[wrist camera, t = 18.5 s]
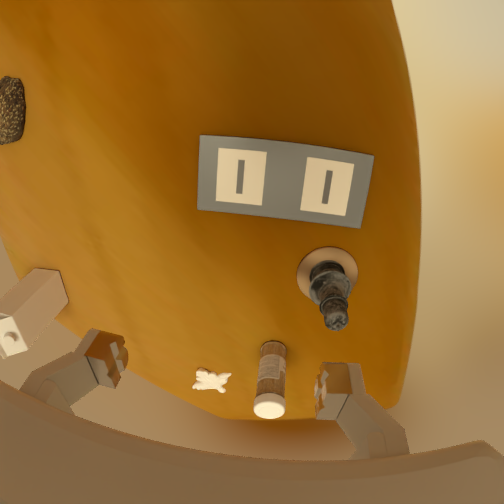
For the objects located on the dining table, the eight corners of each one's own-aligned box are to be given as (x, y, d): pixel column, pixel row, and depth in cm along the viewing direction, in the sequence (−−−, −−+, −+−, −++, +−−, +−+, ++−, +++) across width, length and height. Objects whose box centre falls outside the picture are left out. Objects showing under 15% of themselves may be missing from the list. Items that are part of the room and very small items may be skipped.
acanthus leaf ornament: (193, 383, 60) (191, 390, 58) (194, 362, 56) (191, 369, 55) (228, 391, 59) (227, 398, 58) (232, 371, 56) (230, 378, 55)
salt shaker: (346, 291, 45) (361, 346, 34) (307, 294, 45) (313, 351, 35) (347, 256, 42) (365, 307, 31) (306, 259, 43) (312, 312, 32)
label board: (201, 134, 37) (199, 135, 36) (372, 155, 36) (374, 156, 35) (198, 207, 42) (196, 210, 41) (358, 226, 41) (360, 229, 40)
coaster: (301, 242, 42) (302, 244, 42) (363, 250, 42) (364, 252, 42) (292, 296, 47) (292, 298, 46) (349, 302, 46) (349, 304, 46)
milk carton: (45, 297, 53) (-8, 354, 36) (35, 267, 50) (-25, 322, 33) (69, 301, 52) (16, 365, 36) (59, 270, 49) (-3, 331, 32)
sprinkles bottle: (285, 358, 53) (283, 420, 41) (259, 357, 53) (252, 418, 41) (287, 340, 51) (286, 403, 39) (260, 338, 51) (253, 401, 39)
